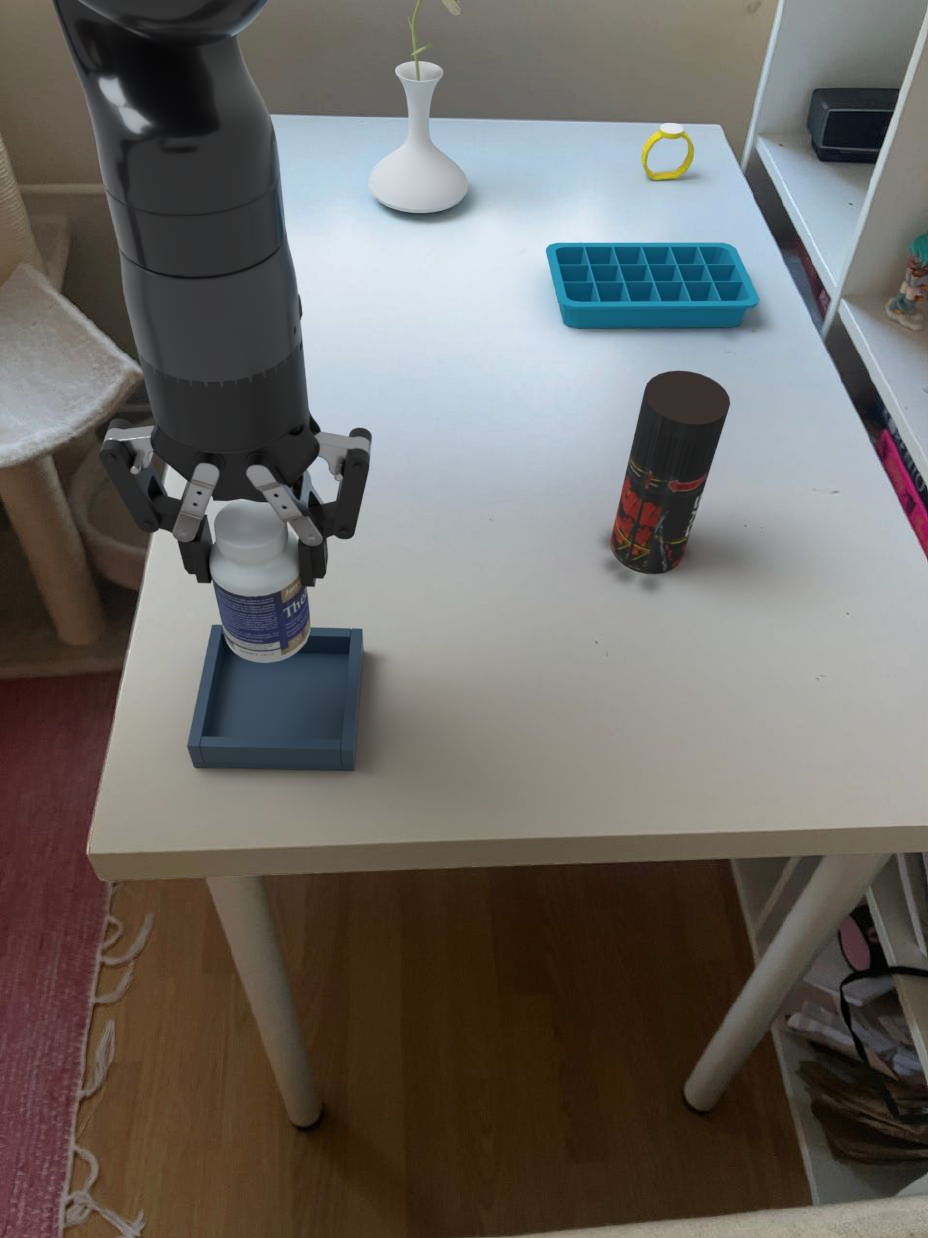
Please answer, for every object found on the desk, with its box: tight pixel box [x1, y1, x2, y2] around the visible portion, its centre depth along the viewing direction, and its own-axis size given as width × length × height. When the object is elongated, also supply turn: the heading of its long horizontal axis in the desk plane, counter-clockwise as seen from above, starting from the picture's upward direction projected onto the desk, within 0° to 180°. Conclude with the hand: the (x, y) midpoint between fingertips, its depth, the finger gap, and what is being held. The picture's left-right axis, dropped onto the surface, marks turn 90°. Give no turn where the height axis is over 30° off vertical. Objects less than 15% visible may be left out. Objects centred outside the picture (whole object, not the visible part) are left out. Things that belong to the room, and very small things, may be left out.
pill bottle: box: [209, 499, 311, 663], centre depth 59 cm, size 5×5×10 cm
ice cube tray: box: [545, 242, 760, 329], centre depth 103 cm, size 12×20×3 cm, turn 94°
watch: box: [640, 122, 695, 182], centre depth 118 cm, size 6×3×6 cm, turn 97°
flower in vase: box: [367, 0, 469, 214], centre depth 106 cm, size 13×11×25 cm
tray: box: [186, 624, 365, 771], centre depth 69 cm, size 11×10×3 cm
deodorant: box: [610, 370, 731, 575], centre depth 75 cm, size 6×6×15 cm
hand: (259, 573), depth 59 cm, fingers closed on pill bottle, 5 cm apart
